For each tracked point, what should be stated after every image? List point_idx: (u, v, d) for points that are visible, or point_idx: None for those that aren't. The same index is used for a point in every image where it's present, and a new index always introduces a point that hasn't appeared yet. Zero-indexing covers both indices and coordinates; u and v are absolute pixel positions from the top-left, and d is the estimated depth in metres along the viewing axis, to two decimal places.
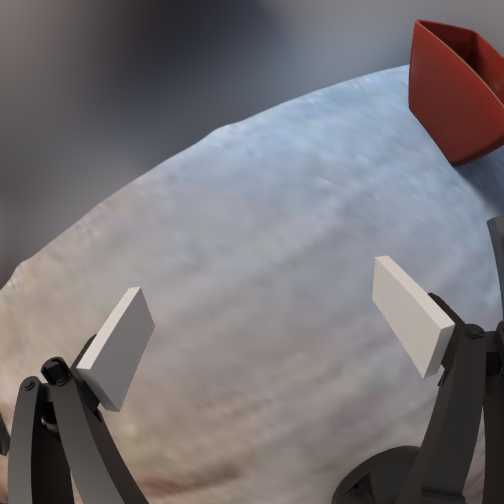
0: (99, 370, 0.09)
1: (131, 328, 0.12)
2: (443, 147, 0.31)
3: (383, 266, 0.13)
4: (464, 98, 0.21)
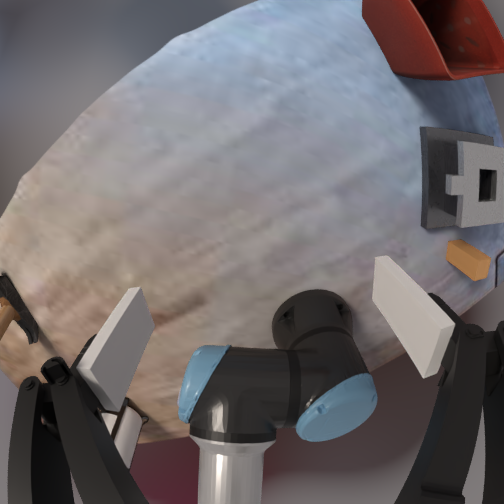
0: (99, 370, 0.09)
1: (131, 328, 0.12)
2: (387, 57, 0.31)
3: (383, 266, 0.13)
4: (407, 32, 0.21)
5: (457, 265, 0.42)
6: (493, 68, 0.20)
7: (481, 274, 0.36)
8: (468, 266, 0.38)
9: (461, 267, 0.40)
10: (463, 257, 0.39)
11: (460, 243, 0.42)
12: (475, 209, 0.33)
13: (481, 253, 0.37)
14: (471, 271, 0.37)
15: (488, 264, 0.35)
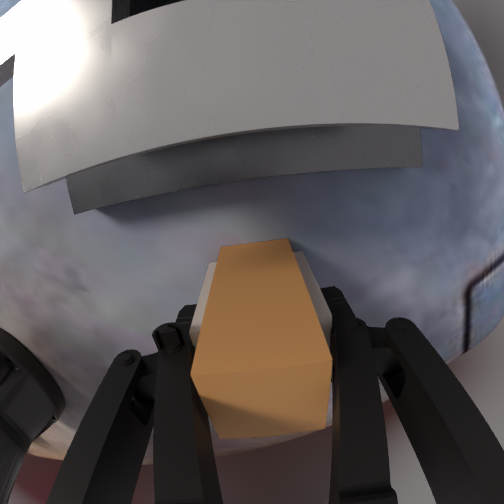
0: None
1: None
2: None
3: None
4: None
5: None
6: None
7: (271, 424, 0.08)
8: None
9: None
10: None
11: (256, 254, 0.14)
12: (92, 67, 0.05)
13: (297, 314, 0.09)
14: None
15: (315, 388, 0.07)
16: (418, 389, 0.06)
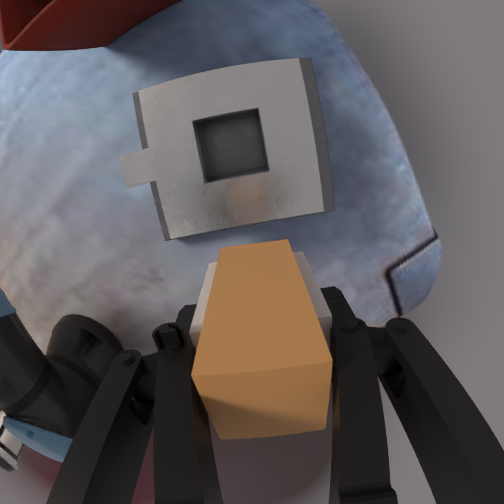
0: None
1: None
2: None
3: None
4: None
5: None
6: None
7: (271, 424, 0.08)
8: None
9: None
10: None
11: (257, 255, 0.15)
12: (200, 199, 0.23)
13: (297, 315, 0.09)
14: None
15: (316, 389, 0.07)
16: (418, 389, 0.06)
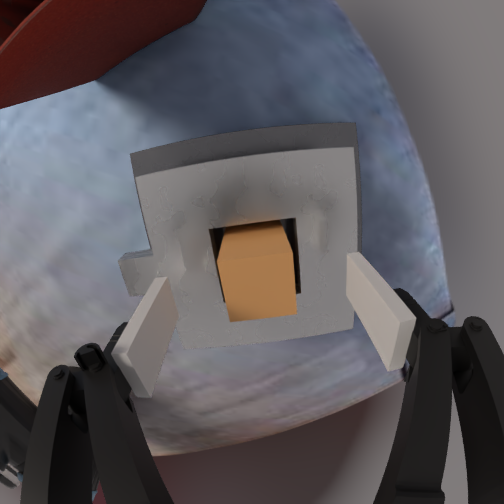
0: (134, 355, 0.10)
1: (160, 315, 0.13)
2: None
3: (353, 262, 0.14)
4: None
5: None
6: None
7: (262, 305, 0.16)
8: None
9: None
10: None
11: None
12: (218, 317, 0.20)
13: (276, 238, 0.17)
14: None
15: (286, 273, 0.15)
16: (482, 384, 0.05)
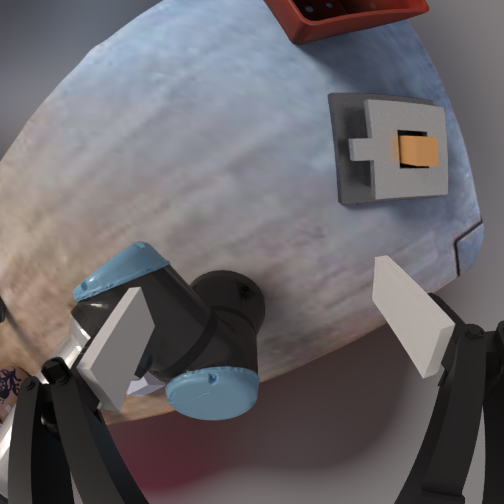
0: (99, 370, 0.09)
1: (131, 328, 0.12)
2: (283, 29, 0.31)
3: (383, 266, 0.13)
4: None
5: None
6: None
7: (428, 159, 0.29)
8: (406, 151, 0.31)
9: (400, 157, 0.33)
10: (399, 143, 0.33)
11: None
12: (396, 177, 0.34)
13: None
14: (411, 155, 0.30)
15: (435, 146, 0.28)
16: None
